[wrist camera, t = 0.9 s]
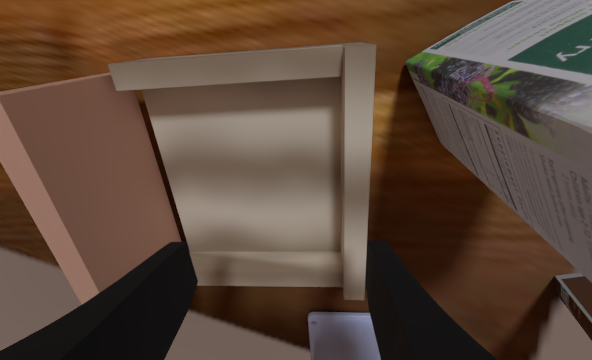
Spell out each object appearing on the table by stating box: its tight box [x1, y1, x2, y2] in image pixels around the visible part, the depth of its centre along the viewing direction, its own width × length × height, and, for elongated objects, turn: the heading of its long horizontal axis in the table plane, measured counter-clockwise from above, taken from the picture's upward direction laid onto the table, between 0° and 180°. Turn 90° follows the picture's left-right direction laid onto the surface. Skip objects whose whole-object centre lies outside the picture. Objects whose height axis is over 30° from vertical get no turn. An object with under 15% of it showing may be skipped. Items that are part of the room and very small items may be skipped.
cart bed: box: [108, 42, 376, 300], centre depth 17 cm, size 14×12×5 cm
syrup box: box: [406, 0, 592, 283], centre depth 10 cm, size 6×6×14 cm
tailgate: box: [0, 73, 182, 304], centre depth 15 cm, size 13×2×7 cm, turn 4°
